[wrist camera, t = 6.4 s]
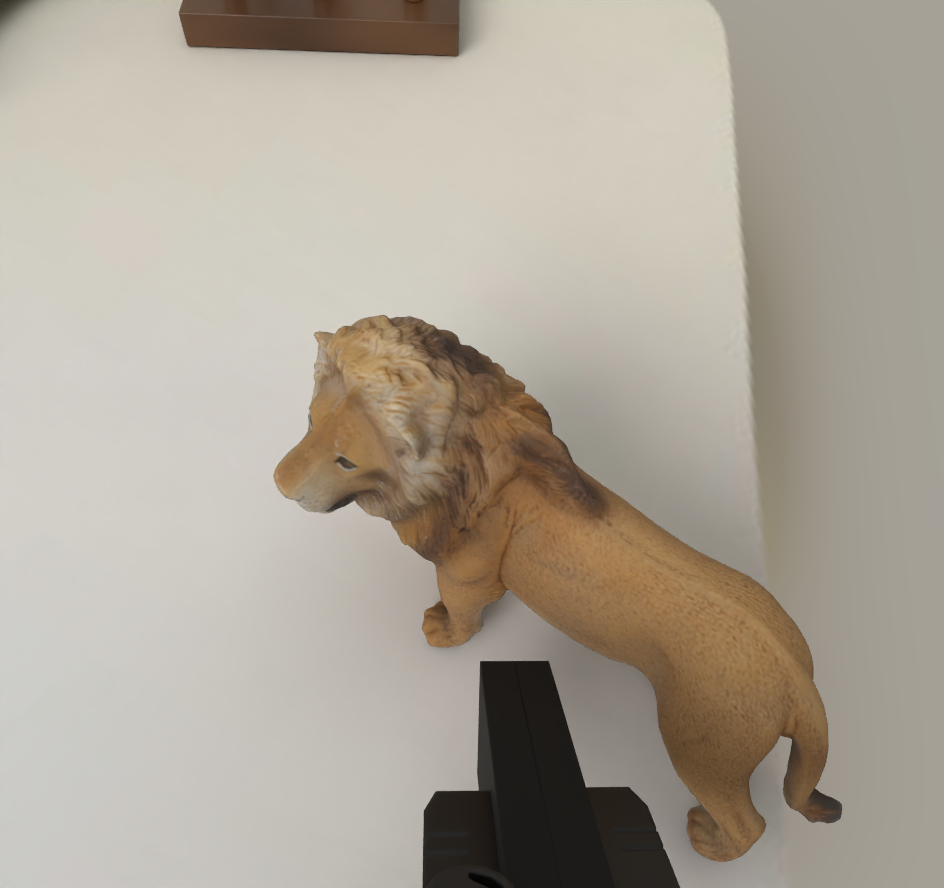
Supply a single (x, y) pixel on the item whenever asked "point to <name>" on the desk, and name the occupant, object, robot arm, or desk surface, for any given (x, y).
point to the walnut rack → (325, 25)
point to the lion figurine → (561, 558)
